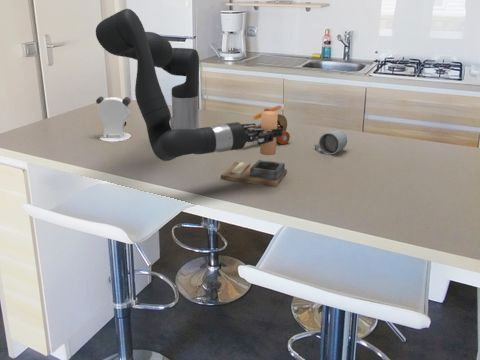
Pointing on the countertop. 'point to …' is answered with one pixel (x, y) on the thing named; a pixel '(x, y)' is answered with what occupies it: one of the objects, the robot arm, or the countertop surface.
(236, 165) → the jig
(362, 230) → the countertop surface
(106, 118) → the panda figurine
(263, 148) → the cylinder
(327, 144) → the ceramic mug
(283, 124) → the toy helicopter
